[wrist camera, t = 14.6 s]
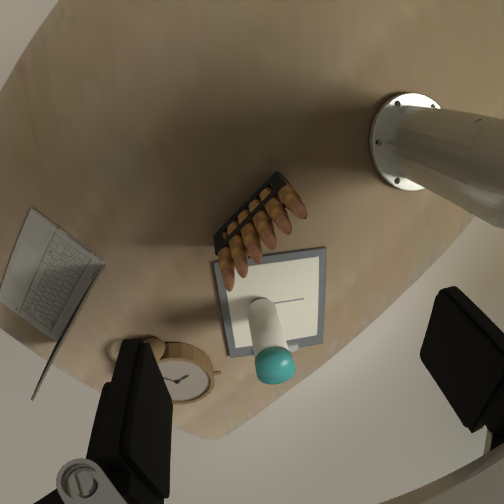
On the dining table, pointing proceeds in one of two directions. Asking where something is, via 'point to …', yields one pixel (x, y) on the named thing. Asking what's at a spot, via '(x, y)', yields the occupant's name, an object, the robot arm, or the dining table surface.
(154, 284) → the dining table surface
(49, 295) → the laptop
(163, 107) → the dining table surface
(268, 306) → the marker
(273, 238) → the ammunition clip
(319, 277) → the drawing board
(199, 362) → the alarm clock
